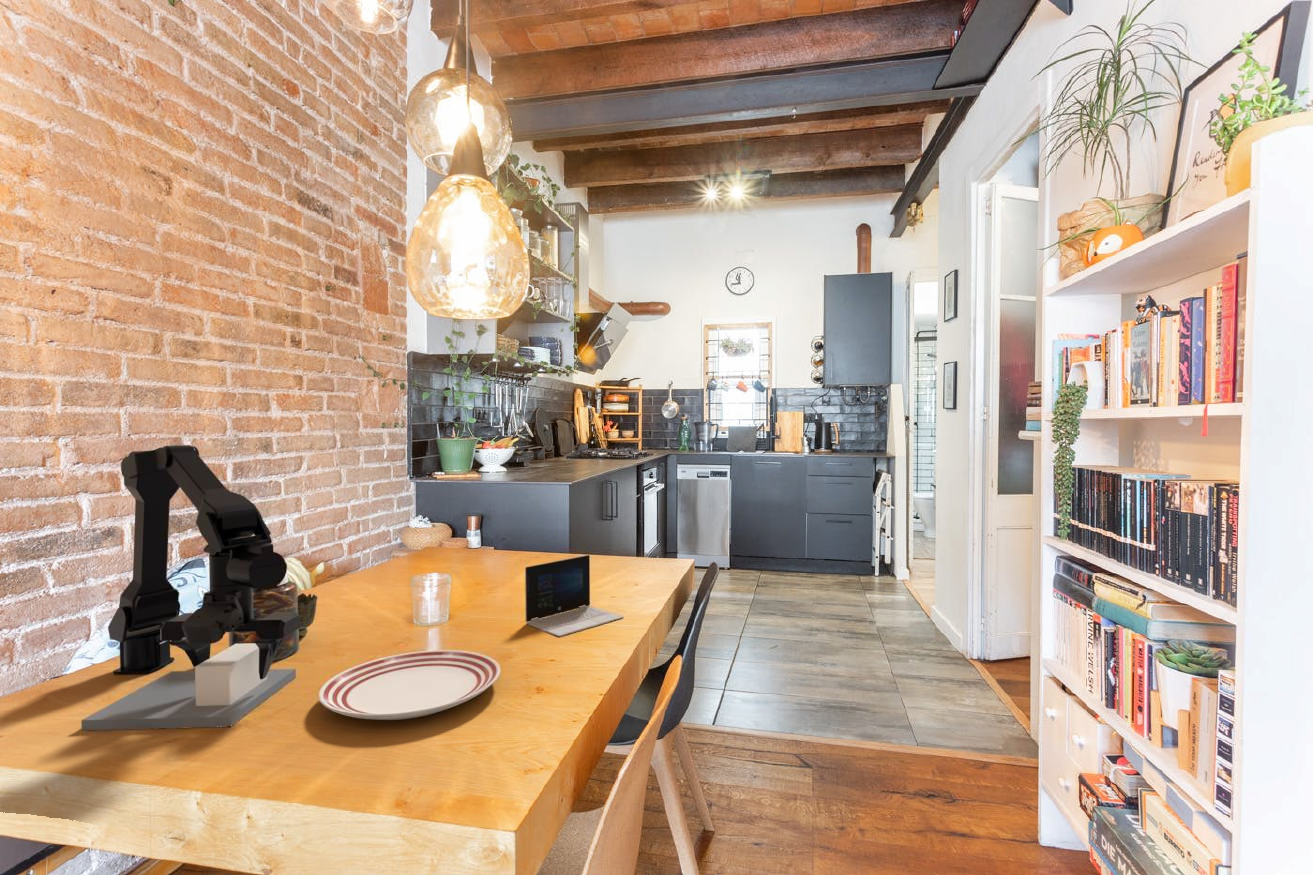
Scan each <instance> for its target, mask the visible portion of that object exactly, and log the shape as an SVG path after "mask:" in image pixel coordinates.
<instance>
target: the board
mask: <svg viewBox="0 0 1313 875" xmlns="http://www.w3.org/2000/svg"><path fill="white" fill-rule="evenodd" d="M296 676H297V670H296V668H279V669H278V668H277V669H271V668H270V669H269V671H268V673H267V679H266V680H264V681H263V682H262V683H260V684H259V685H257V686H256V687H255V688H253V689H252V690H250V691H249V692H248V693H246V694H245V695H243V696H242V697H241V698H239V699H238V700H236V701H235V702H234V703H232V704H231V705H214V706H196V688H195V670H178V671H177V670H176V671H175V670H172V671H170V672H168V673H165V674H164V675H162V676H160V677H159V678H156V679H155V680H153V681H151V682H149V683H148V684H145V685H143V686H142V687H140V688H138V689H137V690H135V691H133V692H131V693H129V694H127V695H126V696H125V695H124V696H123V697H121V698H120V699H118V700H116V701H114V702H113V703H110V704H109V705H107V706H105V707H103V708H102V709H99V710H97V711H95V712H94V713H92V714H90V715H88V716H87V717H85V718H82V719H80V721H81V731H102V730H103V731H110V730H111V731H115V730H121V729H122V730H152V729H151V728H166V729H184V728H183V727H210V728H225V727H224V726H231V725H233V724H234V725H235V724H237V723H238V722H239V721H241V720H242V719H243V718H244V717H245V716H244V715H246V714H247V713H248V712H250V711H251V710H252V711H254V710H255V709H256V708H258V707H259V706H260V705H262V704H263V703H264V702H266V701H267V700H268V699H269V698H271V697H272V696H273V695H275V694H276V693H277V692H278V691H280V690H281V689H282V688H284V687H285V686H286V685H288V684H289V683H290V682H292V681H293V680H294V679H296V678H297V677H296ZM271 695H272V696H271ZM270 696H271V697H270ZM267 698H268V699H267ZM266 699H267V700H266ZM265 700H266V701H265ZM262 702H263V703H262ZM261 703H262V704H261ZM258 705H259V706H258ZM257 706H258V707H257ZM252 711H251V712H252ZM251 712H250V713H251ZM248 714H249V713H248ZM248 714H247V715H248ZM247 715H246V716H247ZM243 716H244V717H243ZM242 717H243V718H242ZM241 718H242V719H241ZM240 719H241V720H240ZM237 721H238V722H237ZM236 722H237V723H236ZM234 725H233V726H234ZM217 726H218V727H217ZM220 726H222V727H220ZM231 727H232V726H231Z"/></svg>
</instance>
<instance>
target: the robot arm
mask: <svg viewBox="0 0 1313 875" xmlns="http://www.w3.org/2000/svg"><path fill="white" fill-rule="evenodd" d="M120 471H121V475H122V477H123V485H124V486H125V488H126V489H127V490H128V492H129V493H130V494H131V496H132V497H133V498H134V500H135V505H134V508H135V509H134V532H133V533H134V535H133V562H132V563H133V564H132V580H131V581H130V582H129V584H128V585H127V586H126V587H125V589H124V590H123V591H122V592H121V594H120V597H119V603H118V608H117V609H116V611H115V613H114V615H113V617H112V619H111V620H110V622H109V624H108V626H107V629H108V631H107V632H108V636H109V639H111V640H113V641H115V642H119V668H116V669H114V670H113V671H112V674H113V675H115V674H116V675H122V674H123V675H124V674H126V675H128V674H129V675H130V674H133V675H134V674H150V673H152V672H155V671H156V670H159V669H160V668H162V667H164V666H166V665H167V664H168V665H169V664H170V663H171V662H174V661H175V657H171V646H174V647H177V648H179V649H181V650H182V651H184V652H185V654H186V656H187V657H188V658H189V660H190V662H191V664H192V666H193V668H194V670H195V666H197V665H199V664H201V663H202V662H204V661H206V660H208V659H210V658H211V649H212V648H211V645H212V644H216V643H218V642H219V641H221V640H222V639H223V638H224V636H225V634H226V633H229V632H234V631H256V635H257V636H258V637H259V638H260V639H259V640H257V641H255V644H256V645H257V647H258V648H259V676H260V679H264V678H265V677H266V676H267V673H268V671H269V669H271V666H272V665H273V662H274V661H273V659H274V657H275V655H276V653H277V650H278V648H279V647H280V645H281V643H282V641H283V640H284V638H285V637H287V636H288V635H290V634H291V633H292V632H294V631H295V630H297V629H299V628H300V627H301V622H300V616H299V615H298V614H297V612H296V611H295V612H274V613H272V614H270V615H268V616H266V617H264V618H262V619H253V617H254V616H256V615H258V608H253V591H256V590H258V589H260V590H269V589H272V588H274V587H276V586H277V585H279V584H280V583H281V582H282V580H283V579H284V577H285V575H286V573H287V571H288V563H287V561H286V560H285V558H284V557H283V555H281V554H280V553H278V552H276V551H274V544H273V539H272V537H271V531H270V529H269V527H268V526H267V524H266V523H265V522H266V521H264V518H263V517H262V514H261V512H260V510H259V509H258V507H257V506H256V505H255V504H254V502H252V501H251V500H249V499H248V498H247V497H246V496H244V495H243V494H240V493H237V492H234V491H231V490H229V489H228V488H226V486H225V485H224V484H223V483H222V482H221V480H219V478H218V477H217V476H216V475H215V473H214V472H213V470H211V469H210V467H209V466H208V465H207V464H206V463H205V462H204V460H203V458H201V456H200V452H199V449H198V448H197V447H196V446H195V445H194V446H193V445H190V444H183V445H182V444H180V445H178V444H177V445H176V444H175V445H164V446H163V447H158V448H155V449H152V450H137V451H136V450H135V451H130V453H129V454H128V456H125V457H124V458H123V459H122V461H121V463H120ZM179 490H182V492H183V493H184V494H185V496H186V497H187V498H188V500H189V501H190V502H191V504H192V505H193V506H194V508H195V509H196V511H197V512H198V513H197V516H196V520H195V524H196V525H197V529H198V531H199V533H200V534H201V536H202V537H203V538H204V540H205V541H206V543H207V544H206V545H205V547H203V552H204V553H205V554H206V553H208V560H209V561H208V569H209V570H208V571H209V573H208V574H209V591H207V592H204V593H203V597H202V605H201V606H200V607H199V608H197V609H196V610H194V611H193V612H185V613H182V614H180V612H181V611H180V610H181V603H180V601H179V597H180V592H179V590H178V589H177V588H175V587H174V586H173V585H172V584H171V582H170V581H169V580H168V558H169V557H168V554H169V536H170V535H169V530H170V507H171V504H170V503H171V499H172V498H173V497H174V496H175V495H176V493H177V492H178V491H179ZM243 624H244V626H240V625H243Z"/></svg>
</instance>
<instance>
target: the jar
mask: <svg viewBox="0 0 1313 875" xmlns="http://www.w3.org/2000/svg"><path fill="white" fill-rule="evenodd" d="M288 575H289V574H288V573H287V572H286V575H285V577H284V579H283V580H282V582H281V583H280V584H279V585H277V586H276V587H274V588H272V589H269V590H260V589H258V590H256V591H253V608H258V615H256V616H254V617H253V619H262V618H264V617H266V616H268V615H270V614H272V613H274V612H295V611H296V612H297V614H298V596H299V595H298V586H297V584H296V582H293V581H290V580H289V579H288V578H289V576H288ZM240 626H244V624H243V625H240ZM259 639H260V638H259V637H258V636H257V635H256V631H234V632H228V648H229V647H231V646H232V645H234V644H245V643H255V641H257V640H259ZM299 649H300V637H299V629H297V630H295V631H294V632H292V633H291V634H290V635H288V636H287V637H285V638H284V640H283V641H282V643H281V645H280V647H279V648H278V650H277V653H276V655H275V657H274V659H273V662H278V661H280V660H283V659H285V658H288V657H290V656H292V655H294V654H295V653H297V652H298V651H299Z"/></svg>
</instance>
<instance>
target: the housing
mask: <svg viewBox="0 0 1313 875" xmlns="http://www.w3.org/2000/svg"><path fill="white" fill-rule="evenodd" d="M194 671H195V688H196V706H214V705H231V704H232V703H234V702H235V701H236V700H238V699H239V698H241V697H242V696H243V695H245V694H246V693H248V692H249V691H250V690H252V689H253V688H255V687H256V686H257V685H259V684H260V683H262V682H263V681H264V680H266V679H267V676H266V677H265V678H264V679H260V676H259V648H258V647H257V645H256V644H255V643H245V644H234V645H232V646H231V647H229V646H228V648H225V649H224V650H221V651H220V652H218V653H216V654H214V655H213V656H212V657H211V656H210V659H208V660H206V661H204V662H202V663H201V664H199V665H197V666H195V669H194Z"/></svg>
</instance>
